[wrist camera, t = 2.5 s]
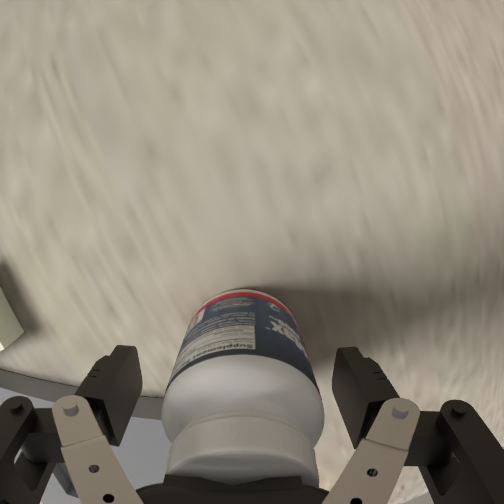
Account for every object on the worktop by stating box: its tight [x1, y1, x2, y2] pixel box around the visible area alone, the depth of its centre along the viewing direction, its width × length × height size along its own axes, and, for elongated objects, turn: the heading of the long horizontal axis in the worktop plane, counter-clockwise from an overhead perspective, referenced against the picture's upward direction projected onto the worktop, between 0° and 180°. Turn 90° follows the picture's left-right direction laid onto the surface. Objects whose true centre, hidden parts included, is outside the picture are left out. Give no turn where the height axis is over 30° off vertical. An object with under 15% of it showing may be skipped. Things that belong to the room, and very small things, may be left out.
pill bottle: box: [162, 289, 324, 488], centre depth 11 cm, size 5×5×9 cm
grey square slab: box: [0, 369, 171, 504], centre depth 17 cm, size 16×16×2 cm
